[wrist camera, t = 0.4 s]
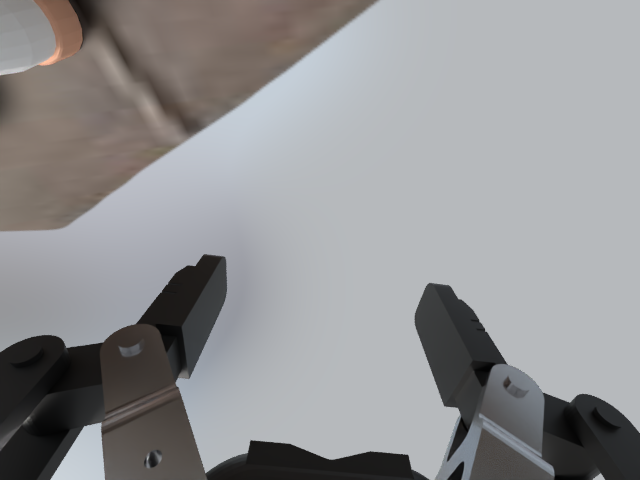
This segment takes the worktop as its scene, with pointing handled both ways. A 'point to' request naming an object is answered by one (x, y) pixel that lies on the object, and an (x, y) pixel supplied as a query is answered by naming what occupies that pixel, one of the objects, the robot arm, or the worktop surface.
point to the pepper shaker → (37, 33)
